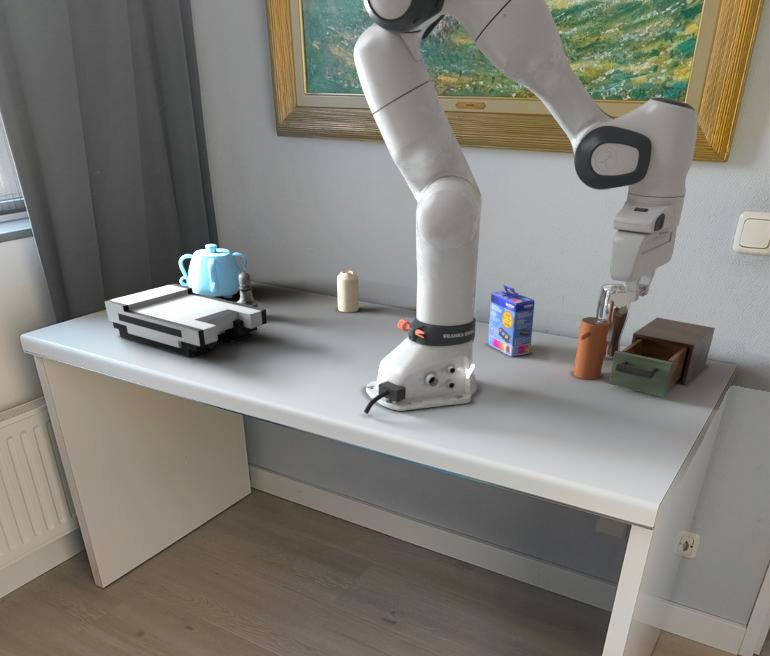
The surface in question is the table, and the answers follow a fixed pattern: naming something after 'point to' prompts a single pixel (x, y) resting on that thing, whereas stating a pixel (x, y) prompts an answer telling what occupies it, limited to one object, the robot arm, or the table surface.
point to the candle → (347, 292)
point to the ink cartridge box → (511, 322)
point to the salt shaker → (246, 290)
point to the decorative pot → (213, 271)
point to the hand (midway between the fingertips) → (636, 298)
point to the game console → (182, 319)
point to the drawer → (649, 366)
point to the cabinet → (681, 341)
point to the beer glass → (613, 314)
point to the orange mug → (591, 348)
